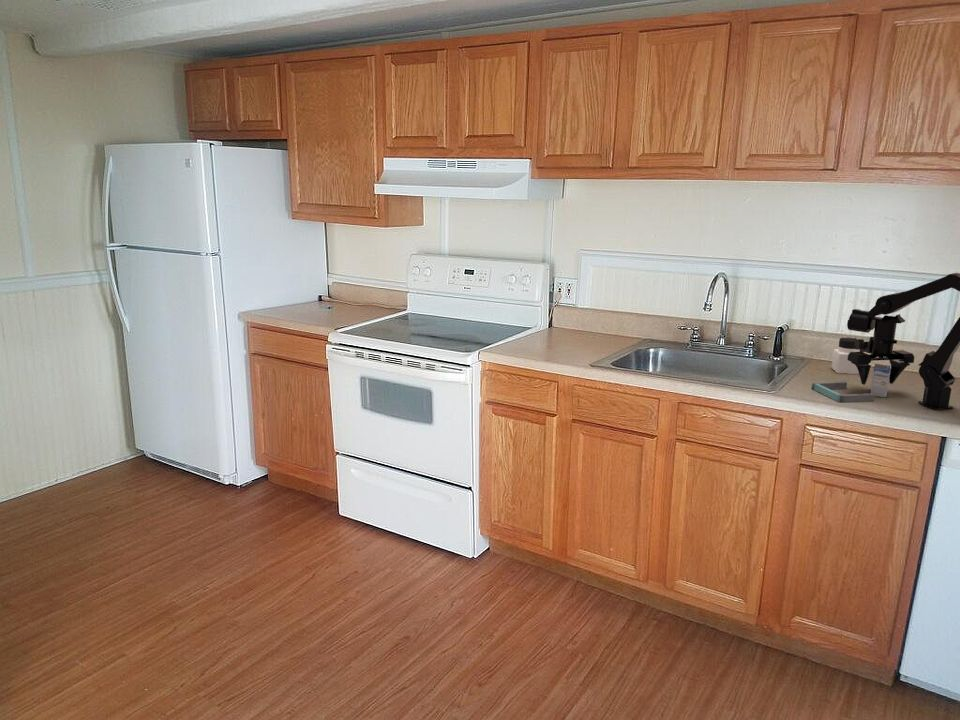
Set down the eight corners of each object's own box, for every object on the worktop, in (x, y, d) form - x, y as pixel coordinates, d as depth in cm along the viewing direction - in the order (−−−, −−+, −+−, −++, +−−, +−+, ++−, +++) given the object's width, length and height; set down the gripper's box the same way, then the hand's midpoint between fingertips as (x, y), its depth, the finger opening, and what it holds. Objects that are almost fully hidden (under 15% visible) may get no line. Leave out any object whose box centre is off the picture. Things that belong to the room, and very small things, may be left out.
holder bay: (873, 401, 215) (874, 394, 215) (839, 402, 214) (840, 396, 213) (844, 387, 229) (844, 381, 229) (811, 388, 228) (812, 382, 227)
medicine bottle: (859, 374, 245) (863, 340, 242) (836, 373, 246) (841, 339, 243) (852, 369, 252) (857, 336, 249) (831, 368, 253) (835, 335, 250)
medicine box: (871, 389, 227) (874, 363, 225) (886, 391, 225) (890, 364, 223) (870, 395, 221) (873, 368, 219) (886, 397, 218) (890, 370, 216)
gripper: (894, 329, 227) (887, 376, 231) (839, 330, 225) (833, 378, 229) (919, 336, 217) (911, 385, 221) (862, 338, 214) (855, 387, 218)
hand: (877, 383), depth 222 cm, fingers open, 9 cm apart
